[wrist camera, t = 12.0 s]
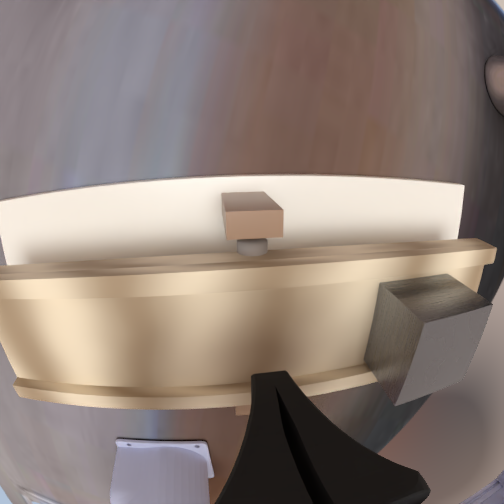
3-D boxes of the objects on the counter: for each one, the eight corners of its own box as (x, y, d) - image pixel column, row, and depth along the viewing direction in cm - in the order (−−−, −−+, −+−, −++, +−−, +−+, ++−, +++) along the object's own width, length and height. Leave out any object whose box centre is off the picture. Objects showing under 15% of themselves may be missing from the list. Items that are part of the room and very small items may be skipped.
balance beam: (36, 376, 16) (22, 402, 13) (-9, 253, 13) (-34, 272, 10) (442, 339, 20) (462, 358, 17) (470, 227, 17) (498, 240, 14)
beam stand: (48, 362, 21) (23, 410, 15) (2, 199, 16) (-51, 222, 10) (426, 334, 25) (461, 371, 19) (456, 183, 20) (511, 199, 14)
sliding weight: (363, 359, 16) (394, 406, 12) (379, 282, 14) (424, 323, 11) (427, 343, 17) (462, 380, 13) (447, 273, 15) (492, 304, 11)
